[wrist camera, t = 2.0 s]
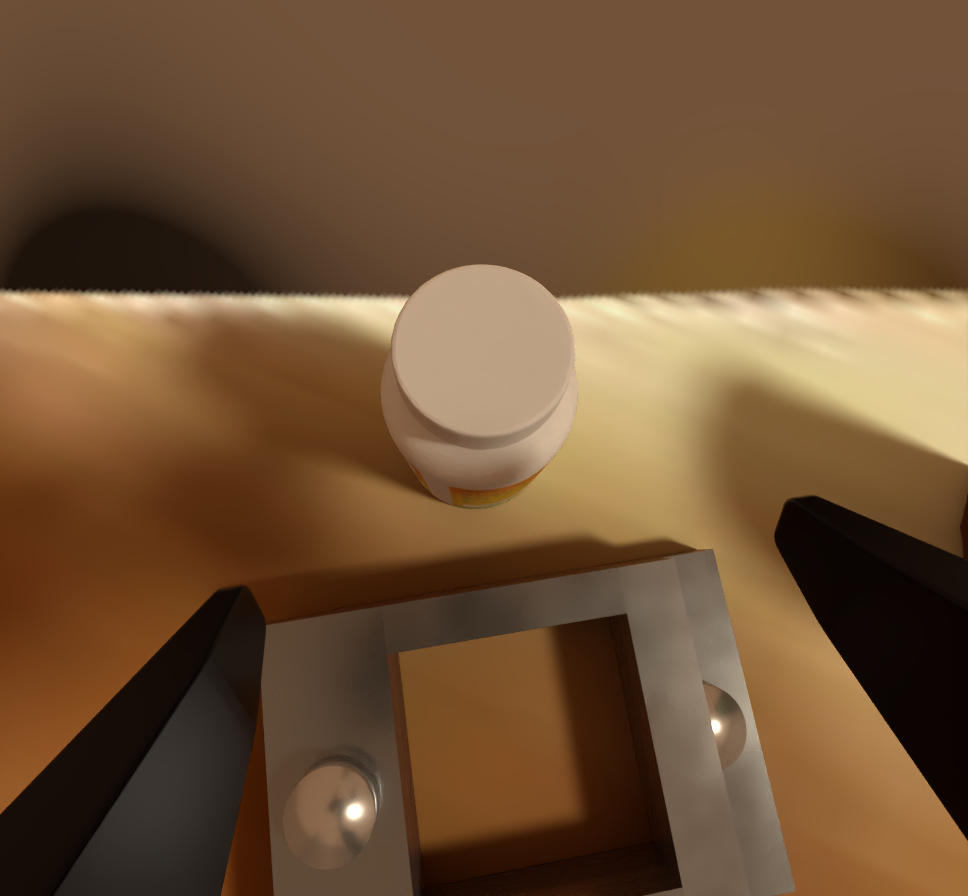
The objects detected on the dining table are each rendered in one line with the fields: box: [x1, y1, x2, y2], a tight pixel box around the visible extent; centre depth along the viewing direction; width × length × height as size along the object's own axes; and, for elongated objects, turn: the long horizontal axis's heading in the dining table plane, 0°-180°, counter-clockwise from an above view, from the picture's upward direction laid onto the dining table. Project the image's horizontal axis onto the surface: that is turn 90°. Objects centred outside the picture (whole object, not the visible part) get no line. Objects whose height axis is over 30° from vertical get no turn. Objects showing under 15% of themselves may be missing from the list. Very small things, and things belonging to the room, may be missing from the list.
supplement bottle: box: [380, 264, 578, 509], centre depth 15 cm, size 5×5×10 cm
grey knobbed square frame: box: [261, 549, 796, 896], centre depth 16 cm, size 16×11×3 cm
